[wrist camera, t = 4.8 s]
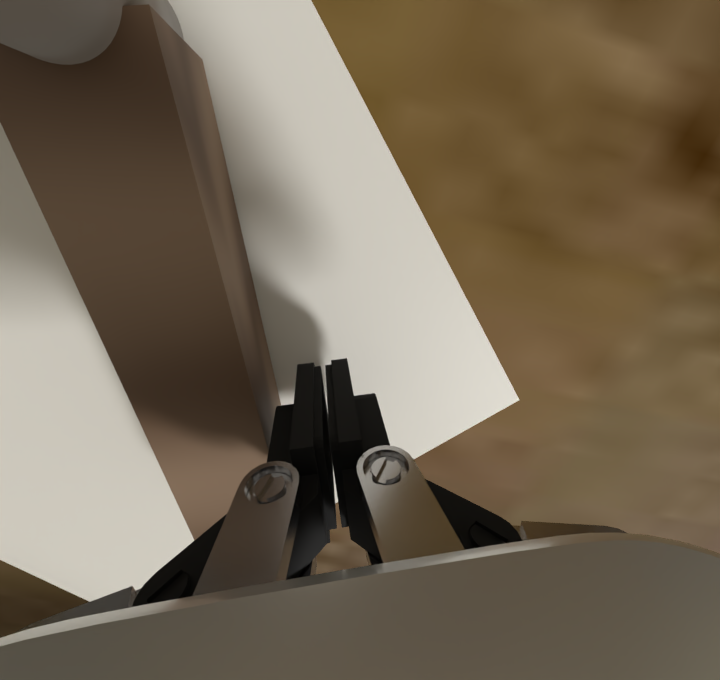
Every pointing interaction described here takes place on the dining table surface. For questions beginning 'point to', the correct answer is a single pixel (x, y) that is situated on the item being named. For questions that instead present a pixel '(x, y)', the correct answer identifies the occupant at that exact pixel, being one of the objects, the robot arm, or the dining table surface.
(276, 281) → the white flat square panel
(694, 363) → the dining table surface
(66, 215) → the folding leg
